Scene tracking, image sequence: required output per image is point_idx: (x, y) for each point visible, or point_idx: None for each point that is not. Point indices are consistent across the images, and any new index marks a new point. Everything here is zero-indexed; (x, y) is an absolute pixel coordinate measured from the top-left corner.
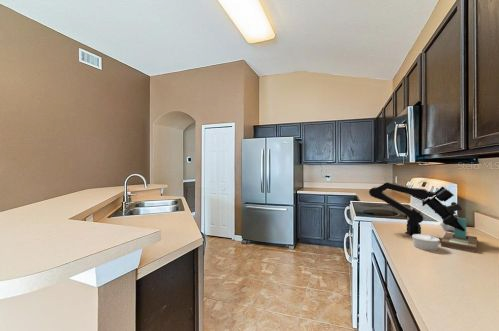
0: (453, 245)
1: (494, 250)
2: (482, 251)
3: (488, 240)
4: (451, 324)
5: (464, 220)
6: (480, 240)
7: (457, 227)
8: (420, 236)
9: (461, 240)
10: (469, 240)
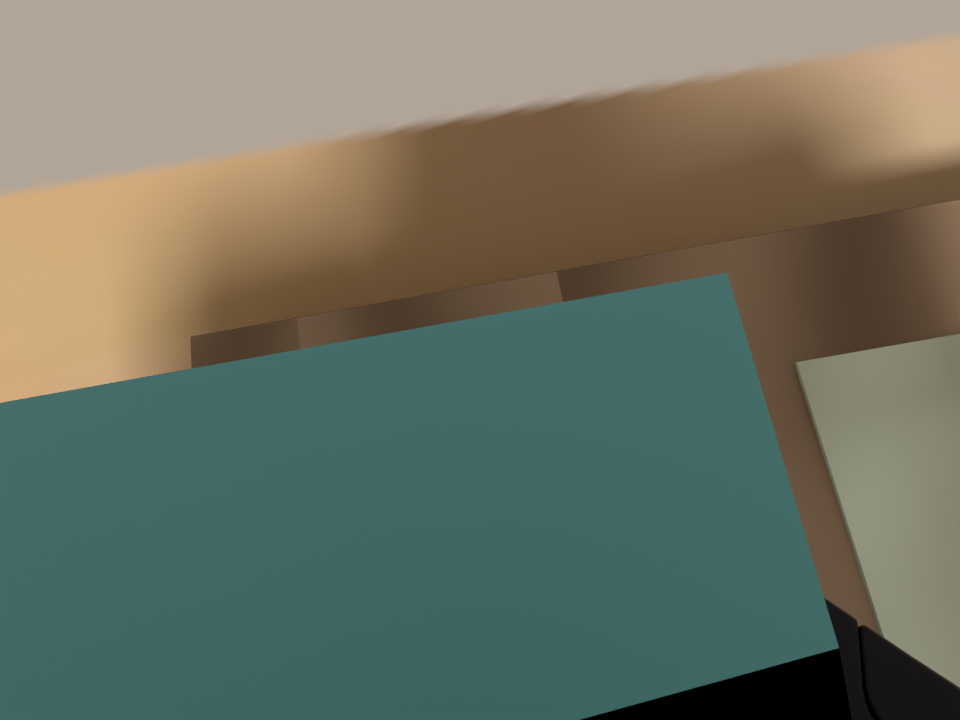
0: None
1: (623, 91)
2: (863, 178)
3: (2, 262)
4: None
5: (730, 401)
6: (98, 345)
7: None
8: None
9: (869, 480)
10: None
